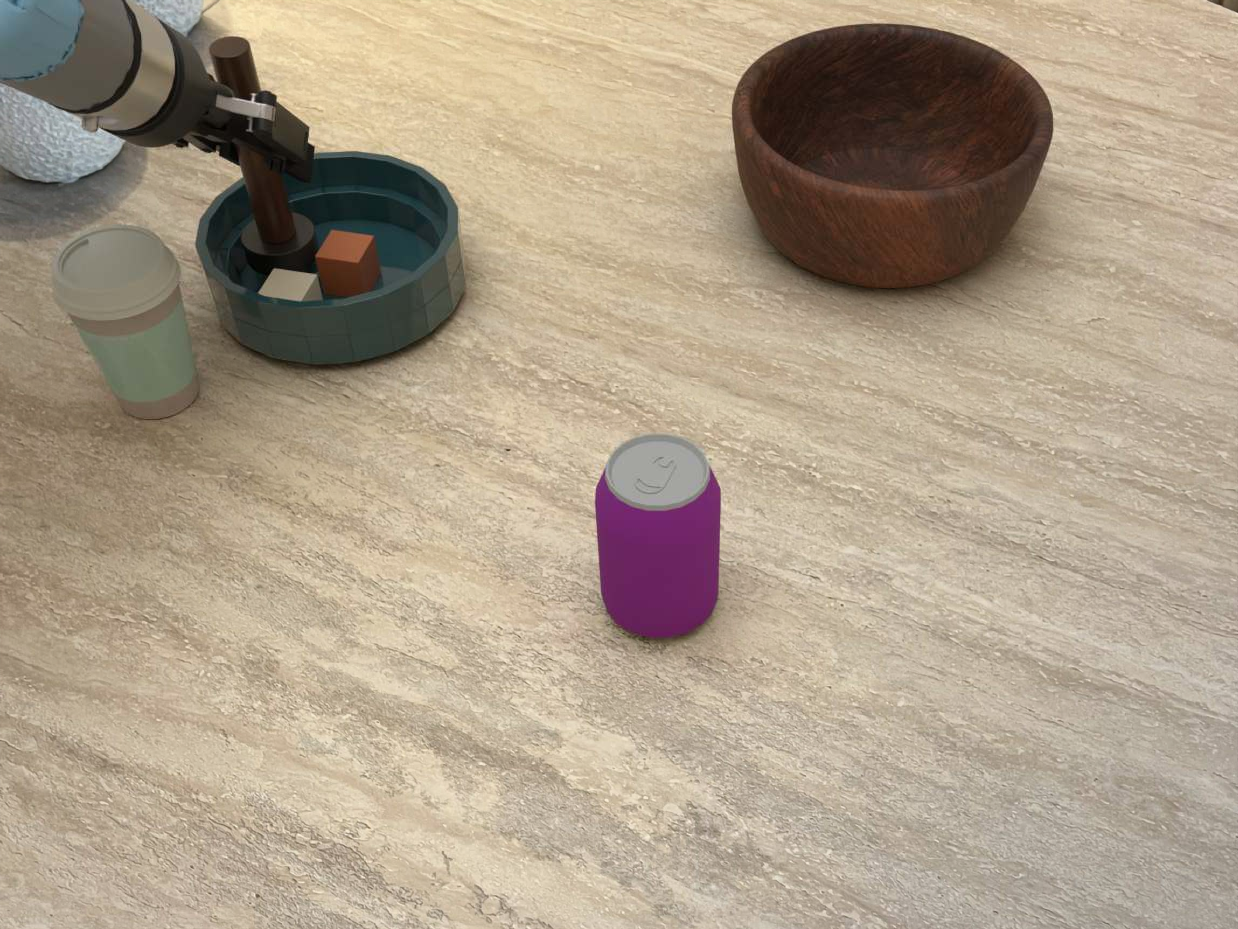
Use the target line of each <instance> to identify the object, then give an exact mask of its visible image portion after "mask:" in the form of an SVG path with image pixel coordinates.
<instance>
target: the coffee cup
mask: <svg viewBox="0 0 1238 929" xmlns="http://www.w3.org/2000/svg"><path fill="white" fill-rule="evenodd" d="M181 270H182V269H181V266H180V263H179V260H178V259H177V258H176V257H175V254H174V252H173V251H172V250H171V249H170V248H169V247H168V246H167V245H166V244H165V243H164V241H163V240H162V239H161V237H159V235H158V234H156V233H155V232H154V231H152V230H150V229H148V228H145V227H142V226H139V225H133V224H108V225H103V226H98V227H94V228H91V229H88V230H85V231H83V232H80V233H79V234H77V235H75V236H72V237H71V238H70V239H68V240H67V241H66V242H64V244H62V245H61V246H60V247H59V248H58V250H56V252H55V254H54V255H53V258H52V261H51V276H50V277H51V278H50V287H51V290H52V296H53V299H54V302H55V303H56V305H57V306H58V307H59V309H61V310H62V311H63V312H66V314H67V315H68V317H69V319H70V321H71V322H72V324H73V326H74V327H75V329H76V331H77V333H78V334H79V336H80V338H81V340H82V342H83V343H84V345H85V347H86V348H87V351H88V352H89V354H90V355H91V357H92V359H93V361H94V363H95V365H96V366H97V368H98V370H99V371H100V373H101V375H102V376H103V378H104V380H105V382H106V384H107V386H108V387H109V389H110V390H111V392H112V394H113V396H114V397H115V399H116V401H117V403H118V404H119V406H120V407H121V409H122V410H123V411H124V412H125V413H127V415H130V416H132V417H135V418H138V419H141V420H142V419H143V420H157V419H165V418H168V417H172V416H175V415H177V414H178V413H181V412H182V411H184V410H185V409H187V408H188V407H190V405H192V404H193V402H194V401H195V399H196V398H197V396H198V394H199V391H200V383H199V379H198V373H197V368H196V362H195V358H194V353H193V345H192V341H191V336H190V331H189V326H188V321H187V316H186V311H185V306H184V300H183V296H182V290H181V285H180V280H181V275H182V271H181Z"/></svg>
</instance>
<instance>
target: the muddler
mask: <svg viewBox="0 0 1238 929" xmlns="http://www.w3.org/2000/svg"><path fill="white" fill-rule="evenodd" d="M208 53H209V57H210V60H211V64H212V67H213V72H214V75H215V79H216V82H218V83H220V84H222V85H225V86H227V87H228V88H230V89H232V90H234V91H235V92H236V94H237V98H238V99H243V100H247V101H249V97H250V93H254V94H258V91H262V87H261V83H260V78H259V75H258V71H257V67H256V63H255V59H254V54H253V51H252V46H251V43H250V42H249V41H248V39H247V38H245V37H241V36H234V35H231V36H223V37H221V38H220V37H219V38H218V39H215V40H214V41H213V42H211V43H210V45H209V46H208ZM234 145H235V149H236V152H237V156H238V160H239V163H240V166H239V167H240V170H241V174H242V177H243V178H244V182H245V185H246V189H247V193H248V196H249V200H250V204H251V207H252V211H253V215H254V218H255V219H254V220H252V221H251V222H250V223H248V224H247V225H246V226H245V228H244V229H243V231H242V234H241V242H242V245H243V249H244V252H245V256H246V259H247V262H248V264H249V266H250V267H251V268H252V269H253V270H254V271H256V272H258V273H260V274H263V275H266V276H269V275H270V274H271V272H272V270H273V269H274V268H276V269H282V270H289V271H296V272H302V271H304V270H306V269H307V268H309V267H310V266H311V265H312V264H313V263H314V262H315V261H316V258H315V256H316V254H317V253H318V251H319V245H318V241H317V237H316V232H315V228H314V225H313V223H312V222H311V221H310V220H309V219H308V218H307V217H305V216H303V215H301V214H298V213H293V212H291V208H290V204H289V200H288V196H287V192H286V188H285V184H284V180H283V176H282V172H275V171H271V170H269V164H267V163H265V162H264V158H265V156H263V155H260V154H258V153H256V152H254V151H251V150H249V149H247V148H245V147H243V146H240V145H238V144H236V143H234Z"/></svg>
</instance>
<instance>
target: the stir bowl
mask: <svg viewBox="0 0 1238 929" xmlns="http://www.w3.org/2000/svg"><path fill="white" fill-rule="evenodd" d="M282 176H283V180H284V184H285V188H286V192H287V196H288V200H289V204H290V208H291V212H293V213H298V214H301V215H303V216H305V217H307V218H308V219H309V220H310V221H311V222H312V223H313V225H314V228H315V232H316V237H317V241H318V245H319V249H320V248H321V246H322V244H323V243H324V241H325V240H326V238H327V236H328V235H329V233H330V232H331V230H337V231H344V232H351V233H358V234H365V235H372V236H374V239H375V244H376V249H377V254H378V259H379V264H380V269H381V274H380V276H379V278H378V280H377V282H376V283H375V285H374V287H373V289H372V290H371V292H368V293H364V294H360V295H356V296H352V297H342V296H335V295H328V294H324V292H323V288H322V284H321V279H320V275H319V271H318V267H317V263H316V261H315V262H314V263H313V264H312V265H311V266H310V267H309V268H307V269H306V270H304V271H302V272H303V273H309V274H316V275H317V277H318V281H319V285H320V289H321V294H322V298H323V300H317V301H295V300H288V299H281V298H275V297H268V296H263V295H261V294H258V292H259V291H260V289H261V288H262V286H263V284H264V283H265V281H266V280H267V278H268V277H269V276H266V275H263V274H260V273H258V272H256V271H254V270H253V269H252V268H251V267H250V266H249V264H248V262H247V259H246V256H245V252H244V249H243V245H242V242H241V234H242V231H243V229H244V228H245V226H246V225H247V224H248V223H250V222H251V221H252V220H254V219H255V218H254V215H253V211H252V207H251V204H250V200H249V196H248V193H247V189H246V185H245V182H244V178H243V176H242V177H240V178H239V179H238V180H236V181H235V182H234V183H233V184H231V185H230V186H228V187H227V188H226V189H224V190H223V191H222V192H221V193H219V194H218V195H216V196H215V197H214V199H213V200H212V201H211V202H210V204H209V205H208V207H207V209H206V210H205V211H204V212H203V214H202V215H201V217H200V218H199V220H198V226H197V231H196V237H195V242H194V247H195V250H196V254H197V257H198V260H199V263H200V266H201V269H202V272H203V276H204V279H205V282H206V285H207V289H208V292H209V295H210V298H211V301H212V304H213V307H214V309H215V313H216V315H217V317H218V321H219V323H220V325H221V326H222V327H223V328H224V329H225V330H226V331H227V332H228V333H230V335H231V336H232V337H234V338H235V340H237V342H239V343H240V344H241V345H243V346H245V347H246V348H249V349H252V350H253V351H257V352H259V353H261V354H262V355H266V356H268V357H269V358H272V359H276V360H282V361H289V362H295V363H301V364H308V365H337V364H338V365H339V364H349V363H355V362H356V363H357V362H362V361H366V360H370V359H374V358H379V357H381V356H384V355H387V354H391V353H394V352H397V351H399V350H400V349H403V348H404V347H407V346H409V345H410V344H412V343H414V342H416V341H418V340H420V339H422V338H424V337H426V336H427V335H429V334H431V333H432V332H433V331H434V330H435V329H436V328H437V327H438V326H439V325H441V323H443V322H444V321H445V320H446V319H447V318H448V317H449V316H450V315H451V314H452V313H453V312H454V311H455V309H456V307H457V305H458V304H459V301H460V299H461V297H462V295H463V293H464V291H465V289H466V286H467V261H466V255H465V247H464V240H463V233H462V227H461V225H462V224H461V219H460V212H459V207H458V204H457V203H456V201H455V199H454V197H453V196H452V193H451V192H450V190H449V189H448V187H447V185H446V184H445V183H444V182H443V181H442V180H440V179H438V178H437V177H436V176H435V175H433V174H432V173H431V172H429V171H428V170H427V169H425V168H424V167H422V166H420V165H417V164H414V163H411V162H409V161H406V160H404V159H401V158H398V157H395V156H392V155H390V154H389V155H388V154H381V153H373V152H367V151H359V150H346V151H326V152H314V159H313V168H312V177H311V183H306V182H301V181H299V180H297V179H295V178H293V177H292V176H290V175H288V174H286V173H282Z"/></svg>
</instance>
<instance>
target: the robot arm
mask: <svg viewBox="0 0 1238 929" xmlns="http://www.w3.org/2000/svg"><path fill="white" fill-rule="evenodd" d="M215 79H216V78H214V75H212V73H210V72H207V69H206V67H205V64H204V61H203V59H202V58H201V55H200V53H199V51H198V50H197V49H196V46H194V45H193V43H192V42H191V41H190V40H189V38H187V37H186V36H185V35H184V34H183V33H181V32H180V31H178V30H177V29H175V28H174V27H172V26H170V25H169V24H167V23H166V22H164V21H163V20H161V19H160V18H158V17H156V15H154V14H152V13H151V12H150V11H148V10H146V9H145V8H144V7H143V6H142V5H140V4H138V3H137V2H135V1H134V0H0V84H1V85H3V86H7V87H10V88H12V89H15V90H17V91H18V92H22V93H23V94H26V95H28V96H30V97H32V98H35V99H38V100H40V101H43V102H45V103H47V104H49V105H50V106H52V107H54V108H55V109H59V110H60V111H64V112H65V113H67V114H71V115H73V116H75V117H77V118H79V119H80V120H81V124H80V127H81V128H82V130H83V131H86V132H89V133H91V134H93V133H96V132H98V130H99V129H100V130H102V131H104V132H105V133H106V132H107V133H108V134H110V135H112V136H114V137H117V138H119V139H121V140H123V141H125V142H127V143H129V144H132V145H134V146H138V147H143V148H161V147H165V146H169V145H173V146H175V148H177V149H178V148H179V149H184V148H189V146H190V145H192V146H194V147H195V148H197V149H198V150H200V151H201V152H203V153H204V154H211V153H213V154H214V153H217V152H218V157H220V158H222V159H224V160H226V161H228V162H230V163H233V164H234V165H236V166H238V167H240V163H239V160H238V156H237V152H236V149H235V145H234V143H236V144H238V145H240V146H243V147H245V148H247V149H249V150H251V151H254V152H256V153H258V154H260V155H263V156H265V158H264V162H265V163H267V164H269V170H271V171H275V172H282V173H286V174H288V175H290V176H292V177H293V178H295V179H297V180H299V181H301V182H306V183H311V177H312V168H313V159H314V153H315V150H316V146H315V145H313V144H311V143H310V142H309V137H310V130H311V129H310V126H309V125H308V124H306V123H305V122H304V121H302V120H301V119H300V118H299V117H298V116H296V115H295V114H293V113H292V112H291V111H290V110H288V109H287V108H286V107H285V106H283V105H282V104H281V103H280V102H278V101H277V100H278V96H277V95H276V94H275V93H272V91H270V90H265V89H263V90H261V91H258V94H254V93H250V97H249V101H247V100H243V99H238V98H237V94H236V92H235V91H234V90H232V89H230V88H228V87H227V86H225V85H222V84H220V83H218V82H217V80H215ZM189 144H190V145H189Z"/></svg>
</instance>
